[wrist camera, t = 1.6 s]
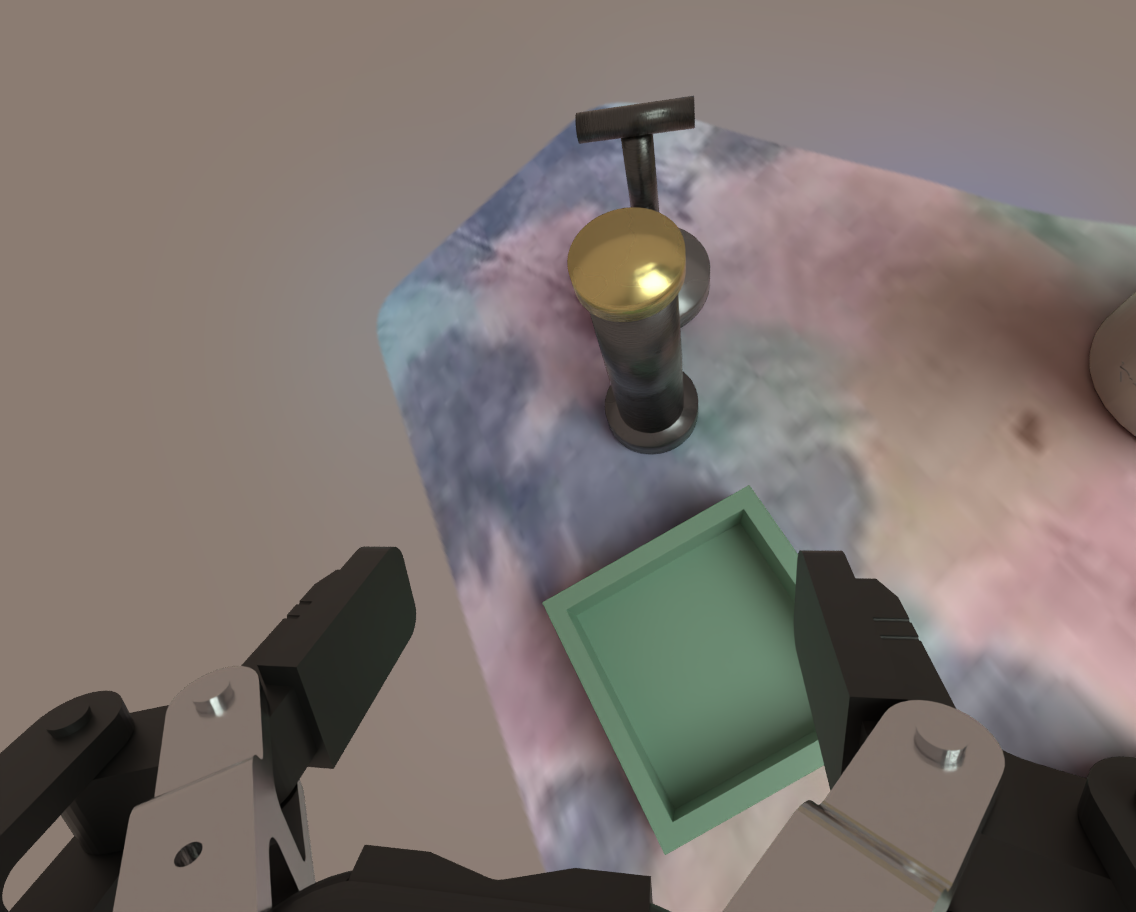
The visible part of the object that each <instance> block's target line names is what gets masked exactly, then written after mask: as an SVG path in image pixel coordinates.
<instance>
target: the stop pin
mask: <svg viewBox="0 0 1136 912" xmlns="http://www.w3.org/2000/svg"><path fill="white" fill-rule="evenodd" d="M567 263H568V271H569V275H570V278H571V281H572V285H573V288H574V291H575V294H576V296H577V298H578V300H579V301H580V303H581V304H582V305H583V306H584V307H585V308H586V309H587V310H588V311H589V312H590V315H591V319H592V322H593V326H594V329H595V332H596V336H597V339H598V342H599V346H600V349H601V353H602V356H603V359H604V363H605V366H606V370H607V373H608V376H609V380H610V383H611V386H610V387H609V389H608V392H607V395H606V399H605V413H606V417H607V420H608V423H609V426H610V428H611V431H612V433H613V435H614V436H615V437H616V439H617V440H618V441H619V442H620V443H621V444H622V445H624V446H625V447H627V448H628V449H630V450H633V451H635V452H638V453H643V454H660V453H664V452H667V451H670V450H672V449H674V448H676V447H678V446H679V445H681V444H682V443H683V442H684V441H685V440H686V439H687V438H688V437H689V436H690V435H691V433H692V432H693V430H694V428H695V425H696V422H697V418H698V396H697V392H696V388H695V386H694V384H693V382H692V381H691V379H690V378H689V377H688V376H687V375H686V374H685V373H684V372H683V371H682V352H681V333H680V314H679V295H678V293H679V291H680V290H681V288H682V285H683V283H684V279H685V275H686V256H685V242H684V239H683V236H682V234H681V232H680V230H679V228H678V227H677V226H676V225H675V223H674V222H673V221H672V220H670V219H669V218H668V217H666V216H665V215H663V214H661V213H659V212H656V211H654V210H650V209H646V208H636V207H631V208H622V209H617V210H613V211H610V212H607V213H605V214H602V215H600V216H598V217H597V218H595V219H594V220H592V221H591V222H589V223H588V224H587V225H586V226H585V227H584V228H583V229H582V230H581V231H580V232H579V233H578V234H577V236H576V237H575V239H574V241H573V242H572V245H571V247H570V250H569V253H568V260H567Z"/></svg>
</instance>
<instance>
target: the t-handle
mask: <svg viewBox="0 0 1136 912" xmlns="http://www.w3.org/2000/svg"><path fill="white" fill-rule="evenodd" d="M694 115H695V113H694V96H690V97H682V98H676V99H669V100H662V101H655V102H648V103H641V104H634V105H627V106H621V107H614V108H607V109H600V110H593V111H586V112H580V113H576V132H577V138H578V142H579V144H581V143H589V142H596V141H603V140H611V139H618V138H621V142H622V149H623V156H624V163H625V170H626V177H627V184H628V191H629V198H630V205H631V207H636V208H646V209H650V210H654V211H656V212H659V203H658V191H657V179H656V167H655V155H654V143H653V134H655V133H663V132H670V131H677V130H685V129H692V128H695V116H694ZM679 230H680V232H681V234H682V236H683V239H684V242H685V256H686V275H685V279H684V283H683V285H682V288H681V290H680V291H679V293H678V295H679V314H680V328H681V327H682V326H684V325H686V324H687V323H688V322H690V321H691V320H692V319H693V318H694V317H695V316H696V315H697V314H698V313H699V311H700V310H701V309H702V307H703V305H704V303H705V302H706V299H707V296H708V293H709V288H710V262H709V258H708V255H707V253H706V250H705V248H704V247H703V246H702V244H701V243H700V242H699V241H698V240H697V239H696V238H695V237H694V236H693V235H691V234H690V233H688V232H686V231H685V230H682V229H680V228H679Z"/></svg>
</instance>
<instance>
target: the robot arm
mask: <svg viewBox="0 0 1136 912" xmlns="http://www.w3.org/2000/svg"><path fill="white" fill-rule="evenodd" d="M1090 373H1091V376H1092V380H1093V383H1094V387H1095V390H1096V391H1097V393H1098V395H1099V397H1100V398H1101V400H1102V402H1103V404H1104V406H1105V407H1106V408H1107V410H1108V411H1109V412H1110V413H1111V414H1112V415H1113V416H1114V418H1115V419H1116V420H1117V421H1118V422H1119V423H1120V424H1121V425H1122V426H1123V427H1124V428H1126V429H1127V430H1128V431H1129V432H1131V433H1132V434H1133V435H1134V436H1136V292H1135V293H1134V294H1133V295H1132V296H1131V297H1130V298H1129V299H1127V300H1126V301H1125V302H1124V303H1123V304H1122V305H1121V306H1120V307H1119V308H1118V309H1116V310H1115V311H1114V312H1113V313H1112V314H1111V315H1110V316H1109V317H1108V318H1107V319H1105V320H1104V322H1103V323H1102V325H1101V326H1100V328H1099V329H1098V331H1097V333H1096V334H1095V336H1094V339H1093V343H1092V346H1091V349H1090ZM415 622H416V607H415V603H414V599H413V595H412V591H411V587H410V583H409V578H408V575H407V570H406V567H405V562H404V558H403V555H402V553H401V551H400V550H399V549H398V548H397V547H361V548H359V549H358V550H357V551H356V552H355V553H354V554H353V556H352V557H351V558H350V559H349V560H348V561H347V562H346V564H345V565H344V566H343V567H342V568H341V569H340V570H336V571H334V572H333V573H331V574H330V575H328V576H327V577H325V578H323V579H322V580H320V581H319V582H318V583H316V584H315V585H314V586H313V587H312V588H311V589H310V590H309V591H308V592H307V593H306V595H305V596H304V597H303V598H302V599H301V600H300V603H299V605H296V606H295V607H294V608H293V609H292V610H291V611H290V612H289V613H288V615H287V619H283V620H282V621H281V622H280V623H279V625H278V626H277V627H276V628H275V629H274V630H273V631H272V632H271V633H270V634H269V636H268V637H267V638H266V639H265V640H264V641H263V642H262V643H261V644H260V646H259V647H258V648H257V649H256V650H255V651H254V652H253V653H252V654H251V655H250V657H249V658H248V659H247V660H246V661H245V662H244V663H243V664H242V666H232V667H227V668H222V669H219V670H216V671H213V672H211V673H208V674H206V675H204V676H202V677H200V678H198V679H197V680H195V681H193V682H192V683H190V684H189V685H188V686H186V687H185V688H184V689H183V690H182V691H180V692H179V693H178V694H177V696H176V697H175V698H174V699H173V700H172V702H171V703H170V705H167V706H162V707H157V708H153V709H147V710H142V711H137V712H133V713H129V711H128V709H127V707H126V705H125V704H124V702H123V700H122V698H121V696H120V695H119V694H117V693H116V692H112V691H98V692H92V693H88V694H85V695H82V696H79V697H76V698H74V699H72V700H69V701H67V702H65V703H63V704H61V705H60V706H58V707H56V708H54V709H53V710H51V711H49V712H48V713H47V714H45V715H44V716H42V717H41V718H40V719H39V720H37V721H36V722H35V723H34V724H33V725H32V726H31V727H29V728H28V729H27V730H26V731H25V732H24V733H23V734H21V735H20V736H19V737H18V738H17V739H16V740H15V741H14V742H13V743H11V744H10V745H9V746H8V747H7V748H6V749H5V750H4V751H2V752H1V753H0V912H8V910H7V909H6V908H5V906H4V904H3V901H2V892H3V887H4V884H5V881H6V879H7V877H8V875H9V873H10V871H11V870H12V868H13V867H14V866H15V864H16V863H17V862H18V861H19V860H20V859H21V858H22V857H23V855H24V854H25V853H26V852H27V851H28V850H29V849H30V848H31V847H32V846H33V844H34V843H35V842H36V841H37V840H38V839H39V838H40V837H41V836H42V835H43V834H44V833H45V831H46V830H47V829H48V828H49V827H50V826H51V825H52V824H53V823H54V822H55V821H56V819H57V818H58V817H59V816H60V815H61V816H62V818H63V819H64V821H65V822H66V824H67V825H68V827H69V828H70V830H71V832H72V833H73V835H74V837H73V838H72V839H71V841H70V842H69V843H68V844H67V845H66V846H65V848H64V849H63V850H62V851H61V852H60V853H59V854H58V856H57V857H56V858H55V859H54V861H52V863H51V864H50V865H49V866H48V867H47V868H46V870H45V871H44V872H43V873H42V874H41V875H40V876H39V878H38V879H37V880H36V881H35V882H34V883H33V885H32V886H31V887H30V888H29V889H28V890H27V891H26V893H25V894H24V895H23V896H22V897H21V898H20V900H19V901H18V902H17V903H16V904H15V905H14V907H13V908H12V909H11V910H10V911H9V912H670V911H669V910H666V909H664V908H662V907H660V906H657V905H655V904H653V901H652V887H651V876H643V875H634V874H625V873H616V872H607V871H598V870H589V869H580V868H572V869H566V870H560V871H554V872H547V873H541V874H536V875H529V876H523V877H517V878H511V879H504V880H494V879H491V878H488V877H485V876H483V875H481V874H479V873H476V872H474V871H472V870H470V869H467V868H465V867H463V866H461V865H458V864H456V863H454V862H452V861H449V860H447V859H445V858H442V857H440V856H438V855H436V854H433V853H431V852H426V851H417V850H408V849H399V848H389V847H381V846H371V845H365V846H364V847H363V850H362V852H361V854H360V856H359V858H358V860H357V862H356V865H355V866H354V869H353V871H348V872H344V873H341V874H337V875H334V876H331V877H328V878H326V879H324V880H321V881H319V882H315V876H314V870H313V861H312V853H311V845H310V837H309V830H308V821H307V813H306V806H305V797H304V790H303V787H302V785H301V782H300V777H301V776H302V774H303V773H304V771H305V770H306V768H307V767H318V768H330V769H333V768H334V767H335V765H336V764H337V762H338V760H339V759H340V757H341V755H342V754H343V752H344V750H345V748H346V747H347V745H348V743H349V742H350V740H351V738H352V736H353V735H354V733H355V731H356V730H357V728H358V726H359V724H360V723H361V721H362V719H363V718H364V716H365V714H366V713H367V711H368V709H369V708H370V706H371V704H372V702H373V701H374V699H375V697H376V696H377V694H378V692H379V691H380V689H381V687H382V685H383V684H384V682H385V680H386V679H387V677H388V675H389V674H390V672H391V670H392V668H393V666H394V665H395V663H396V662H397V660H398V658H399V657H400V655H401V653H402V651H403V650H404V648H405V646H406V645H407V643H408V641H409V640H410V638H411V636H412V634H413V631H414V627H415ZM794 638H795V646H796V652H797V656H798V660H799V664H800V668H801V672H802V676H803V680H804V685H805V689H806V693H807V697H808V701H809V705H810V709H811V713H812V717H813V721H814V725H815V729H816V733H817V737H818V742H819V746H820V750H821V754H822V758H823V762H824V766H825V770H826V774H827V778H828V782H829V786H830V790H831V791H830V793H829V794H828V795H827V797H826V798H825V800H824V801H823V802H822V803H821V804H820V805H817V804H816V803H814V802H813V801H811V800H808V801H806V802H804V803H803V804H802V805H801V806H800V807H799V808H798V809H797V810H796V811H795V812H794V814H793V815H792V816H791V818H790V819H789V821H788V822H787V823H786V825H785V826H784V827H783V829H782V830H781V832H780V833H779V834H778V836H777V837H776V838H775V840H774V841H773V843H772V844H771V845H770V847H769V848H768V850H767V851H766V852H765V854H764V855H763V856H762V858H761V859H760V861H759V862H758V863H757V865H756V866H755V867H754V869H753V870H752V872H751V873H750V874H749V876H748V877H747V879H746V880H745V881H744V883H743V884H742V885H741V887H740V888H739V890H738V891H737V892H736V894H735V895H734V896H733V898H732V899H731V901H730V902H729V903H728V905H727V906H726V908H725V909H724V910H723V912H1136V758H1134V757H1111V758H1107V759H1103V760H1101V761H1099V762H1098V763H1096V764H1095V765H1094V766H1093V767H1092V768H1091V770H1090V772H1089V775H1088V778H1084V777H1080V776H1077V775H1073V774H1070V773H1067V772H1063V771H1060V770H1056V769H1053V768H1050V767H1046V766H1043V765H1040V764H1036V763H1033V762H1030V761H1027V760H1024V759H1021V758H1019V757H1016V756H1014V755H1012V754H1009V753H1007V752H1005V751H1003V750H1002V749H1001V747H1000V745H999V743H998V742H997V740H996V739H995V738H994V736H993V735H992V734H991V733H990V732H989V731H988V730H987V729H986V728H985V727H984V726H983V725H982V724H980V723H979V722H978V721H976V720H975V719H973V718H972V717H970V716H969V715H967V714H965V713H963V712H961V711H960V710H957V709H956V707H955V706H954V704H953V702H952V700H951V698H950V696H949V694H948V692H947V690H946V688H945V686H944V684H943V682H942V681H941V679H940V677H939V675H938V673H937V671H936V669H935V667H934V665H933V663H932V661H931V659H930V658H929V656H928V654H927V652H926V650H925V648H924V646H923V644H922V642H921V641H919V639H918V634H917V633H916V631H915V629H914V627H913V625H912V623H910V622H909V617H908V615H907V613H906V611H905V610H904V608H903V606H902V604H901V602H900V600H899V598H898V597H897V596H896V595H895V594H894V593H892V592H891V591H890V590H889V589H888V588H886V587H885V586H884V585H883V584H882V583H880V582H879V581H878V580H877V579H858V578H855V577H854V574H853V572H852V570H851V568H850V565H849V563H848V561H847V558H846V556H845V554H844V552H843V551H799V553H798V558H797V571H796V587H795V604H794Z"/></svg>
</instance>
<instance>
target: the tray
mask: <svg viewBox="0 0 1136 912" xmlns="http://www.w3.org/2000/svg"><path fill="white" fill-rule="evenodd" d="M797 558H798V554H797V552H796V551H795V550H794V548H793V547H792V545H791V544H790V542H789V541H788V540H787V538H786V537H785V535H784V534H783V532H782V531H781V530H780V528H779V527H778V525H777V524H776V522H775V521H774V520H773V518H772V517H771V515H770V514H769V512H768V511H767V510H766V508H765V507H764V505H763V504H762V502H761V501H760V500H759V498H758V497H757V495H756V494H755V492H754V491H753V490H752V488H751V487H750V485H748V486H747V487H745V488H743V489H741V490H740V491H738V492H736V493H734V494H733V495H731V496H729V497H727V498H726V499H724V500H722V501H720V502H718V503H717V504H715V505H713V506H711V507H710V508H708V509H706V510H704V511H703V512H701V513H699V514H697V515H696V516H694V517H692V518H690V519H689V520H687V521H685V522H683V523H681V524H680V525H678V526H676V527H674V528H673V529H671V530H669V531H667V532H666V533H664V534H662V535H660V536H659V537H657V538H655V539H653V540H652V541H650V542H648V543H646V544H645V545H643V546H641V547H639V548H637V549H636V550H634V551H632V552H630V553H629V554H627V555H625V556H623V557H622V558H620V559H618V560H616V561H615V562H613V563H611V564H609V565H608V566H606V567H604V568H602V569H600V570H599V571H597V572H595V573H593V574H592V575H590V576H588V577H586V578H585V579H583V580H581V581H579V582H578V583H576V584H574V585H572V586H571V587H569V588H567V589H565V590H563V591H562V592H560V593H558V594H556V595H555V596H553V597H551V598H549V599H548V600H546V601H544V602H542V603H543V605H544V607H545V609H546V611H547V613H548V615H549V618H550V620H551V622H552V624H553V626H554V628H555V630H556V632H557V634H558V636H559V638H560V640H561V642H562V644H563V646H564V648H565V650H566V652H567V655H568V657H569V659H570V661H571V663H572V665H573V667H574V669H575V671H576V673H577V675H578V677H579V679H580V681H581V683H582V685H583V687H584V689H585V692H586V694H587V696H588V698H589V700H590V702H591V704H592V706H593V708H594V710H595V712H596V714H597V716H598V718H599V720H600V722H601V724H602V726H603V729H604V731H605V733H606V735H607V737H608V739H609V741H610V743H611V745H612V747H613V749H614V751H615V753H616V755H617V757H618V759H619V761H620V763H621V766H622V768H623V770H624V772H625V774H626V776H627V778H628V780H629V782H630V784H631V786H632V788H633V790H634V792H635V794H636V796H637V798H638V800H639V802H640V805H641V807H642V809H643V811H644V813H645V815H646V817H647V819H648V821H649V823H650V825H651V827H652V829H653V831H654V833H655V835H656V837H657V839H658V842H659V844H660V846H661V848H662V850H663V852H664V854H665V855H666V854H668V853H670V852H671V851H673V850H675V849H677V848H678V847H680V846H682V845H684V844H686V843H687V842H689V841H691V840H693V839H694V838H696V837H698V836H700V835H701V834H703V833H705V832H707V831H709V830H710V829H712V828H714V827H716V826H717V825H719V824H721V823H723V822H724V821H726V820H728V819H730V818H732V817H733V816H735V815H737V814H739V813H740V812H742V811H744V810H746V809H747V808H749V807H751V806H753V805H754V804H756V803H758V802H760V801H762V800H763V799H765V798H767V797H769V796H770V795H772V794H774V793H776V792H777V791H779V790H781V789H783V788H785V787H786V786H788V785H790V784H792V783H793V782H795V781H797V780H799V779H800V778H802V777H804V776H806V775H807V774H809V773H811V772H813V771H815V770H816V769H818V768H820V767H822V766H823V765H824V762H823V758H822V754H821V750H820V746H819V742H818V737H817V733H816V729H815V725H814V721H813V717H812V713H811V709H810V705H809V701H808V697H807V693H806V689H805V685H804V680H803V676H802V672H801V668H800V664H799V660H798V656H797V652H796V646H795V638H794V604H795V587H796V571H797Z"/></svg>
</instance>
